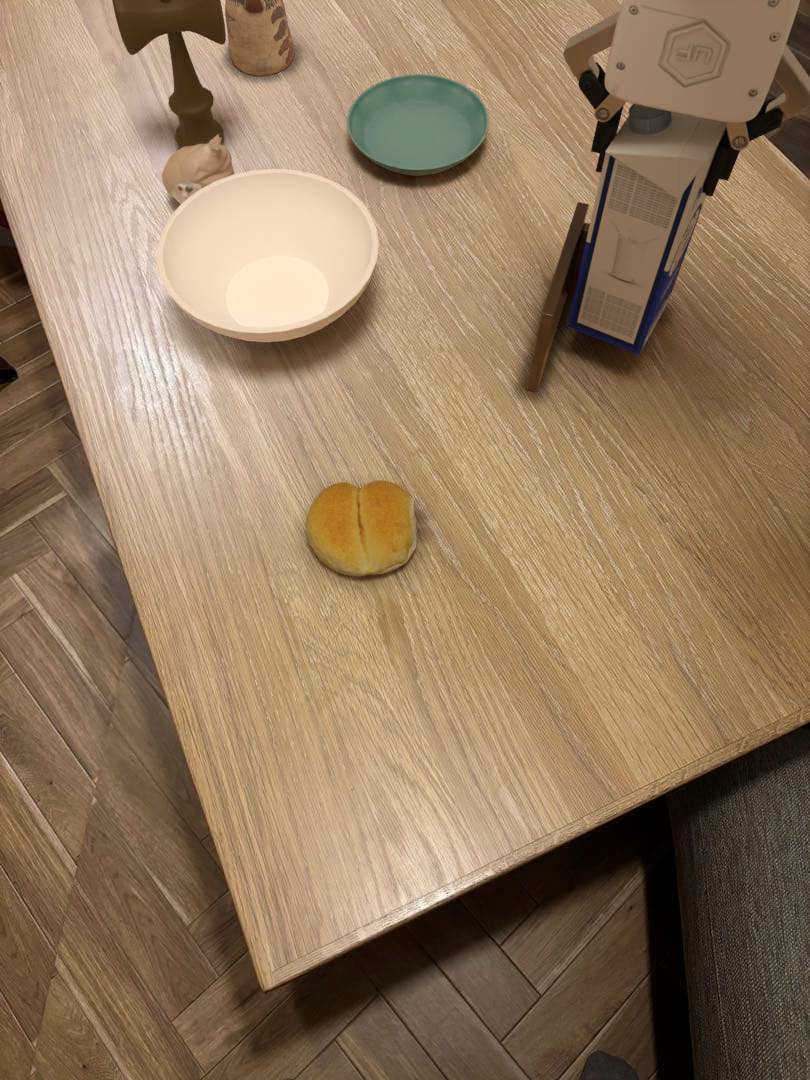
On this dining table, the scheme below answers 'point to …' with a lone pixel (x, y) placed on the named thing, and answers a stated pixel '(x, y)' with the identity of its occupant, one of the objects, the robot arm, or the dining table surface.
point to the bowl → (268, 254)
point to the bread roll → (362, 527)
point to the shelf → (559, 292)
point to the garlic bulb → (196, 168)
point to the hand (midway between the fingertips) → (657, 169)
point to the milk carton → (642, 223)
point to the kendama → (177, 55)
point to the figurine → (258, 36)
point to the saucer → (418, 123)
